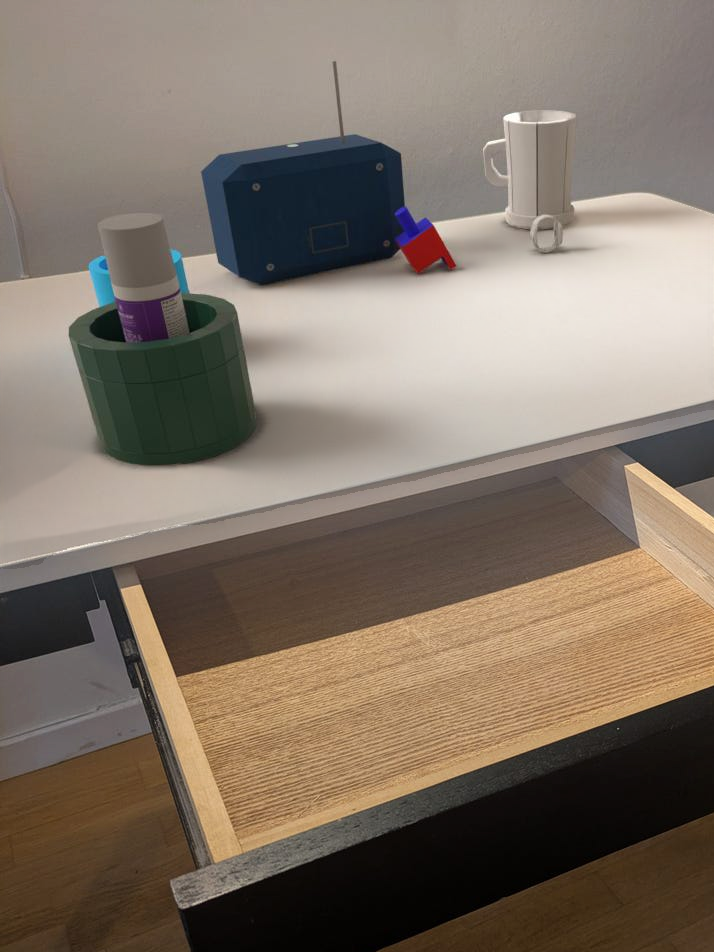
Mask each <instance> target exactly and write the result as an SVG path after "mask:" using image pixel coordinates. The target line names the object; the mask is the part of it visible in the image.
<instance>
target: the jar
mask: <svg viewBox="0 0 714 952" xmlns="http://www.w3.org/2000/svg"><path fill="white" fill-rule="evenodd" d="M181 296H182V300H183V305H184V310H185V314H186V319H187V323H188V328H189V334H186V335H182V336H178V337H174V338H170V339H164V340H157V341H150V342H130V343H126V339H125V335H124V331H123V328H122V324H121V320H120V316H119V312H118V308H117V304H116V302H113V303H110V304H107V305H104V306H101V307H99V306H98V307H95V308H94V309H91V310H88V311H87V312H86V313H84V314H82V315H80V316H78V317H77V318H76V319H75V320H74V321H73V322H72V323H71V324H70V325H69V326H68V338H69V343H70V346H71V349H72V352H73V356H74V360H75V363H76V366H77V369H78V373H79V376H80V379H81V383H82V386H83V391H84V394H85V397H86V401H87V403H88V407H89V411H90V414H91V417H92V421H93V424H94V427H95V431H96V434H97V437H98V438H99V441H100V445H101V447H102V450H103V451H104V452H105V453H106V454H107V455H108V456H110V457H111V458H113V459H115V460H118V461H120V462H123V463H127V464H131V465H137V466H138V465H139V466H149V467H150V466H151V467H152V466H153V467H154V466H155V467H157V466H173V465H181V464H188V463H193V462H197V461H201V460H205V459H209V458H212V457H215V456H218V455H221V454H223V453H225V452H228V451H230V450H232V449H234V448H235V447H238V446H239V445H241V444H242V443H243V442H245V441H246V440H247V439H248V438H250V437H251V435H252V434H253V433H254V431H255V430H256V427H257V423H258V422H257V415H256V406H255V402H254V401H255V400H254V395H253V390H252V385H251V379H250V373H249V367H248V363H247V358H246V352H245V346H244V342H243V337H242V330H241V325H240V321H239V320H240V319H239V314H238V311H237V309H236V305H235V304H234V303H231V302H230V301H228V300H227V299H225V298H222V297H219V296H214V295H210V294H204V293H203V294H202V293H191V292H189V293H181Z"/></svg>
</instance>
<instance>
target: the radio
mask: <svg viewBox="0 0 714 952" xmlns="http://www.w3.org/2000/svg"><path fill="white" fill-rule="evenodd" d="M332 70H333V78H334V87H335V97H336V106H337V116H338V125H339V134H340V135H339V136H334V137H333V136H332V137H327V138H320V139H313V140H306V141H300V142H293V143H287V144H280V145H274V146H267V147H261V148H253V149H247V150H239V151H234V152H227V153H226V152H225V153H221V154H220V153H219V154H218V155H217V156H216V157H214V159H213V160H212V161H210V162H209V164H207V165H206V166H205V167H204V168H203V169H202V170H201V171H200V175H201V179H202V184H203V190H204V195H205V200H206V201H205V202H206V206H207V211H208V216H209V221H210V226H211V231H212V238H213V243H214V248H215V253H216V254H215V255H216V259H217V264H219V265H220V266H221V267H224V268H225V269H226V270H228V271H230V272H231V273H232V274H234V275H235V276H237V277H239V278H241V279H243V280H246V281H250V283H251V282H252V283H254V284H257V285H259V286H265V285H270V284H274V283H279V282H284V281H289V280H294V279H299V278H302V277H307V276H313V275H317V274H322V273H327V272H331V271H335V270H341V269H346V268H349V267H354V266H355V267H356V266H360V265H364V264H370V263H375V262H379V261H383V260H388V259H392V258H393V257H394V256H395V255H396V254H397V253H398V252H399V251H401V249H400V247H399V245H398V244H397V242H396V240H395V238H397V237H398V236H399V235H401V234H402V233H404V232H405V231H404V229H403V228H402V226H401V224H400V223H399V221H398V219H397V218H396V216H395V213H396V211H397V210H399V209H400V208H402V207H406V204H405V203H406V202H405V190H404V189H405V188H404V175H403V162H402V161H403V160H402V153H401V152H400V151H398V150H396V149H394V148H392V147H390V146H388V145H387V144H385V143H383V142H382V141H378V140H374V139H372V138H368V137H366V136H362V135H359V134H357V133H356V134H355V133H353V134H347V135H345V133H344V124H343V123H344V122H343V115H342V114H343V113H342V104H341V103H342V102H341V94H340V84H339V75H338V66H337V60H335V61H332Z"/></svg>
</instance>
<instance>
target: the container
mask: <svg viewBox="0 0 714 952" xmlns="http://www.w3.org/2000/svg"><path fill="white" fill-rule="evenodd" d="M97 227H98V231H99V235H100V239H101V244H102V248H103V252H104V253H103V254H104V255H105V257H106V262H107V266H108V270H109V275H110V279H111V283H112V288H113V292H114V297H115V301H116V304H117V308H118V312H119V316H120V320H121V324H122V328H123V331H124V335H125V339H126V343H130V342H150V341H157V340H164V339H170V338H174V337H178V336H182V335H186V334H189V328H188V323H187V319H186V314H185V310H184V305H183V300H182V296H181V291H180V286H179V283H178V278H177V274H176V270H175V266H174V262H173V258H172V254H171V250H170V249H171V245H170V242H169V237H168V234H167V230H166V225H165V221H164V217H163V216H162V215H160V214H157V213H153V212H132V213H123V214H118V215H114V216H113V215H112V216H109V217H106V218H104V219H102V220H100V221H99V222H98V224H97Z"/></svg>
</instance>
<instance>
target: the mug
mask: <svg viewBox="0 0 714 952" xmlns="http://www.w3.org/2000/svg"><path fill="white" fill-rule="evenodd" d="M170 250H171V254H172V258H173V262H174V266H175V270H176V274H177V278H178V283H179V286H180V291H181V293H190V290H189V285H188V279H187V275H186V271H185V266H184V262H183V257H182V253H181V252H180V251H178V250H175V249H172V248H170ZM88 270H89V273H90V274H89V275H90V277H91V281H92V284H93V288H94V293H95V296H96V300H97V304H98V308H99V307H101V306H104V305H107V304H110V303H113V302H116V301H115V297H114V292H113V288H112V283H111V279H110V275H109V270H108V266H107V262H106V257H105V254H104V255H101V256H98V257H97V258H95V259H93V260H92V261H90V262H89V264H88Z"/></svg>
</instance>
